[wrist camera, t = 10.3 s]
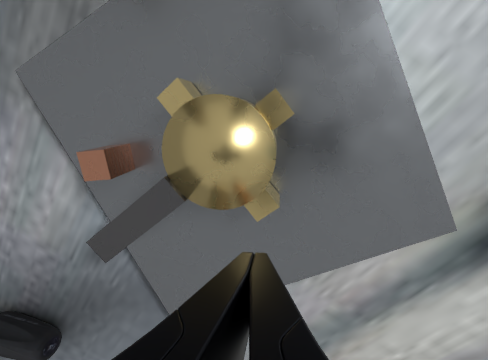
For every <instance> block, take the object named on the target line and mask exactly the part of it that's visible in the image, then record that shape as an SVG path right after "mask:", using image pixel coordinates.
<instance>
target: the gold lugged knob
mask: <svg viewBox="0 0 488 360" xmlns="http://www.w3.org/2000/svg"><path fill="white" fill-rule="evenodd" d="M157 99H158V100H159V101H160V103H161V104H162V105H163V106H164V108H165V109H166V110H167V111H168V113H169V114H170V115H171V116H172V117H171V119H170V120H169V122H168V124H167V126H166V129H165V131H164V135H163V140H162V158H163V163H164V167H165V170H166V172H167V174H168V175H167V176H165V177H164V178H163V179H161V180H160V181H159V182H158V183H157V184H155V185H154V186H153V187H152V188H151V189H149V190H148V191H147V192H146V193H145V194H143V195H142V196H141V197H140V198H139V199H137V200H136V201H135V202H134V203H133V204H132V205H130V206H129V207H128V208H127V209H126V210H124V211H123V212H122V213H121V214H120V215H118V216H117V217H116V218H115V219H114V220H112V221H111V222H110V223H109V224H108V225H106V226H105V227H104V228H103V229H102V230H100V231H99V232H98V233H97V234H96V235H94V236H93V237H92V238H91V239H90V240H88V241H87V242H86V243H87V244H88V245H89V246H90V247H91V248H92V249H93V250H94V251H95V252H96V253H97V254H98V255H99V256H100V257H101V259H102V260H103V261H104V262H105V263H106V262H108V261H109V260H110V259H112V258H113V257H114V256H116V255H117V254H118V253H119V252H121V251H122V250H123V249H125V248H126V247H127V246H128V245H130V244H131V243H132V242H134V241H135V240H136V239H138V238H139V237H140V236H141V235H143V234H144V233H145V232H147V231H148V230H149V229H150V228H152V227H153V226H154V225H156V224H157V223H158V222H160V221H161V220H162V219H163V218H165V217H166V216H167V215H169V214H170V213H171V212H172V211H174V210H175V209H176V208H178V207H179V206H180V205H182V204H183V203H184V202H185V201H186V200H187V199H189V200H190V201H192V202H194V203H196V204H198V205H200V206H203V207H206V208H210V209H216V210H228V209H234V208H238V207H241V206H243V205H244V206H245V207H246V209H247V210H248V211H249V212H250V214H251V215H252V216H253V217H254V219H255V220H256V221H257V222H258V221H260V220H261V219H263V218H264V217H266V216H267V215H269V214H270V213H272V212H273V211H275V210H276V209H277V208H279V207H280V195H279V193H278V192H277V191H276V190H275V188H274V187H273V186H272V184H271V183H270V182H269V181H270V179H271V177H272V174H273V172H274V168H275V163H276V152H277V141H276V136H275V132H274V129H276V128H277V127H278V126H280V125H281V124H282V123H283V122H285V121H286V120H287V119H289V118H290V117H291V116H292V115H294V112H293V111H292V109H291V108H290V107H289V105H288V104H287V103H286V101H285V100H284V99H283V97H282V96H281V94H280V93H279V92H278V90H277V89H276V88H275V89H274V90H273V91H271V92H270V93H269V94H268V95H267V96H265V97H264V98H263V99H262V100H261V101H259V102H258V103H257V104H256V105H253V104H252V103H250V102H248V101H246V100H244V99H241V98H237V97H233V96H229V95H223V94H209V95H203V96H202V95H201V94H200V92H199V91H198V90H197V89H196V87H195V86H194V85H193V83H192V82H191V81H188V80H184V79H181V78H176V79H175V80H174V81H173V82H172V83H171V84H170V85H169V86H168V87H167V88H166V89H165V90H164V91H163V92H162V93H161V94H160V95H159V96H158V97H157Z"/></svg>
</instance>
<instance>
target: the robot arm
mask: <svg viewBox="0 0 488 360" xmlns="http://www.w3.org/2000/svg"><path fill="white" fill-rule="evenodd" d="M248 337H249V360H329V359H328V358H327V356H326V355H325V353H324V352H323V351H322V349H321V348H320V346H319V345H318V343H317V341H316V340H315V338H314V336H313V335H312V333H311V331H310V330H309V328H308V326H307V324H306V323H305V321H304V319H303V317H302V316H301V314H300V312H299V310H298V308H297V307H296V305H295V303H294V301H293V299H292V298H291V296H290V294H289V292H288V290H287V289H286V287H285V285H284V283H283V281H282V280H281V278H280V276H279V274H278V272H277V271H276V269H275V267H274V265H273V263H272V262H271V260H270V258H269V256H268V254H267V253H255V254H254V253H253V252H242V253H241V254H240V255H238V256H237V257H236V258H235V259H234V260H233V261H231V262H230V263H229V264H228V265H227V266H226V267H225V268H223V269H222V270H221V271H220V272H219V273H218V274H217V275H215V276H214V277H213V278H212V279H211V280H210V281H208V282H207V283H206V284H205V285H204V286H203V287H202V288H200V289H199V290H198V291H197V292H196V293H195V294H193V295H192V296H191V297H190V298H189V299H188V300H187V301H185V302H184V303H183V304H182V305H181V306H180V307H178V310H175V311H174V312H173V313H171V314H170V315H169V316H168V317H167V318H166V319H164V320H163V321H162V322H161V323H160V324H158V325H157V326H156V327H155V328H153V329H152V330H151V331H150V332H148V333H147V334H146V335H144V336H143V337H142V338H140V339H139V340H138V341H136V342H135V343H134V344H132V345H131V346H130V347H128V348H127V349H126V350H124V351H123V352H121V353H120V354H119V355H117V356H116V357H114V358H113V359H112V360H244V356H245V351H246V346H247V342H248Z"/></svg>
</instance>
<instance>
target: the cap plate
mask: <svg viewBox="0 0 488 360" xmlns="http://www.w3.org/2000/svg"><path fill="white" fill-rule="evenodd" d="M16 73H17V75H18V76H19V78H20V79H21V81H22V82H23V84H24V86H25V87H26V89H27V90H28V92H29V94H30V95H31V97H32V98H33V100H34V101H35V103H36V105H37V106H38V108H39V109H40V111H41V113H42V114H43V116H44V117H45V119H46V120H47V122H48V124H49V125H50V127H51V128H52V130H53V131H54V133H55V135H56V136H57V138H58V139H59V141H60V143H61V144H62V146H63V147H64V149H65V150H66V152H67V154H68V155H69V157H70V158H71V160H72V162H73V163H74V165H75V166H76V168H77V169H78V171H79V173H80V174H81V176H82V177H83V179H84V181H85V182H86V184H87V185H88V187H89V188H90V190H91V192H92V193H93V195H94V196H95V198H96V199H97V201H98V203H99V204H100V206H101V207H102V209H103V211H104V212H105V214H106V215H107V217H108V218H109V220H110V222H111V221H112V220H114V219H115V218H116V217H117V216H118V215H120V214H121V213H122V212H123V211H124V210H126V209H127V208H128V207H129V206H130V205H132V204H133V203H134V202H135V201H136V200H137V199H139V198H140V197H141V196H142V195H143V194H145V193H146V192H147V191H148V190H149V189H151V188H152V187H153V186H154V185H155V184H157V183H158V182H159V181H160V180H161V179H163V178H164V177H165V176H167V175H168V174H167V172H166V170H165V167H164V163H163V158H162V140H163V135H164V131H165V129H166V126H167V124H168V122H169V120H170V119H171V117H172V116H171V115H170V114H169V113H168V111H167V110H166V109H165V108H164V106H163V105H162V104H161V103H160V101H159V100H158V99H157V97H158V96H159V95H160V94H161V93H162V92H163V91H164V90H165V89H166V88H167V87H168V86H169V85H170V84H171V83H172V82H173V81H174V80H175V79H176V78H181V79H184V80H188V81H191V82H192V83H193V85H194V86H195V87H196V89H197V90H198V91H199V92H200V94H201V95H202V96H203V95H209V94H223V95H229V96H233V97H237V98H241V99H244V100H246V101H248V102H250V103H252V104H253V105H256V104H257V103H258V102H259V101H261V100H262V99H263V98H264V97H265V96H267V95H268V94H269V93H270V92H271V91H273V90H274V89H275V88H276V89H277V90H278V92H279V93H280V94H281V96H282V97H283V99H284V100H285V101H286V103H287V104H288V105H289V107H290V108H291V109H292V111H293V112H294V115H292V116H291V117H290V118H289V119H287V120H286V121H285V122H283V123H282V124H281V125H280V126H278V127H277V128H276V129H274V132H275V136H276V141H277V152H276V163H275V168H274V172H273V174H272V177H271V179H270V181H269V182H270V183H271V184H272V186H273V187H274V188H275V190H276V191H277V192H278V193H279V195H280V207H279V208H277V209H276V210H275V211H273V212H272V213H270V214H269V215H267V216H266V217H264V218H263V219H261V220H260V221H258V222H257V221H256V220H255V219H254V217H253V216H252V215H251V214H250V212H249V211H248V210H247V209H246V207H245V206H244V205H243V206H241V207H238V208H234V209H228V210H216V209H210V208H206V207H203V206H200V205H198V204H196V203H194V202H192V201H190V200H189V199H187V200H186V201H185V202H184V203H183V204H182V205H180V206H179V207H178V208H176V209H175V210H174V211H172V212H171V213H170V214H169V215H167V216H166V217H165V218H163V219H162V220H161V221H160V222H158V223H157V224H156V225H154V226H153V227H152V228H150V229H149V230H148V231H147V232H145V233H144V234H143V235H141V236H140V237H139V238H138V239H136V240H135V241H134V242H132V243H131V244H130V245H128V246H127V248H128V250H129V252H130V253H131V255H132V256H133V258H134V260H135V261H136V263H137V264H138V266H139V267H140V269H141V271H142V272H143V274H144V275H145V277H146V278H147V280H148V282H149V283H150V285H151V286H152V288H153V290H154V291H155V293H156V294H157V296H158V297H159V299H160V301H161V302H162V304H163V305H164V307H165V309H166V310H167V312H168V313H169V315H170V314H171V313H173V312H174V311H175V310H178V307H180V306H181V305H182V304H183V303H184V302H185V301H187V300H188V299H189V298H190V297H191V296H192V295H193V294H195V293H196V292H197V291H198V290H199V289H200V288H202V287H203V286H204V285H205V284H206V283H207V282H208V281H210V280H211V279H212V278H213V277H214V276H215V275H217V274H218V273H219V272H220V271H221V270H222V269H223V268H225V267H226V266H227V265H228V264H229V263H230V262H231V261H233V260H234V259H235V258H236V257H237V256H238V255H240V254H241V253H242V252H253V253H254V254H255V253H267V254H268V256H269V258H270V260H271V262H272V263H273V265H274V267H275V269H276V271H277V272H278V274H279V276H280V278H281V280H282V281H283V283H284V285H287V284H290V283H293V282H296V281H299V280H302V279H305V278H309V277H312V276H315V275H318V274H321V273H324V272H328V271H331V270H334V269H337V268H340V267H343V266H346V265H350V264H353V263H356V262H359V261H362V260H365V259H368V258H372V257H375V256H378V255H381V254H384V253H387V252H390V251H394V250H397V249H400V248H403V247H406V246H409V245H413V244H416V243H419V242H422V241H425V240H428V239H431V238H435V237H438V236H441V235H444V234H447V233H450V232H453V231H457V229H456V226H455V223H454V220H453V217H452V214H451V211H450V208H449V205H448V202H447V199H446V196H445V193H444V190H443V188H442V185H441V182H440V179H439V176H438V173H437V170H436V167H435V164H434V161H433V158H432V155H431V152H430V149H429V146H428V143H427V140H426V137H425V134H424V131H423V128H422V126H421V123H420V120H419V117H418V114H417V111H416V108H415V105H414V102H413V99H412V96H411V93H410V90H409V87H408V84H407V81H406V78H405V75H404V72H403V69H402V66H401V64H400V61H399V58H398V55H397V52H396V49H395V46H394V43H393V40H392V37H391V34H390V31H389V28H388V25H387V22H386V19H385V16H384V13H383V10H382V7H381V4H380V2H379V0H110V1H108V2H107V3H106V4H104V5H103V6H102V7H100V8H99V9H98V10H96V11H95V12H94V13H92V14H91V15H90V16H88V17H87V18H86V19H84V20H83V21H82V22H80V23H79V24H77V25H76V26H75V27H73V28H72V29H71V30H69V31H68V32H67V33H65V34H64V35H63V36H61V37H60V38H59V39H57V40H56V41H55V42H53V43H52V44H51V45H49V46H48V47H47V48H45V49H44V50H42V51H41V52H40V53H38V54H37V55H36V56H34V57H33V58H32V59H30V60H29V61H28V62H26V63H25V64H24V65H22V66H21V67H20V68H18V69H17V70H16Z"/></svg>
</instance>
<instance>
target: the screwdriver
mask: <svg viewBox="0 0 488 360" xmlns="http://www.w3.org/2000/svg"><path fill="white" fill-rule="evenodd" d="M61 339H62V334H61V331H60V330H59V329H57V328H55V327H53V326H52V325H49V324H47V323H45V322H42V321H40V320H38V319H35V318H33V317H30V316H27V315H24V314H21V313H18V312H1V313H0V356H2V357H6V358H11V359H16V360H47V359H49V358H50V357H51V356H52V355H53V354H54V353H55V352H56V350H57V349H58V347H59V345H60V342H61Z"/></svg>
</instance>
